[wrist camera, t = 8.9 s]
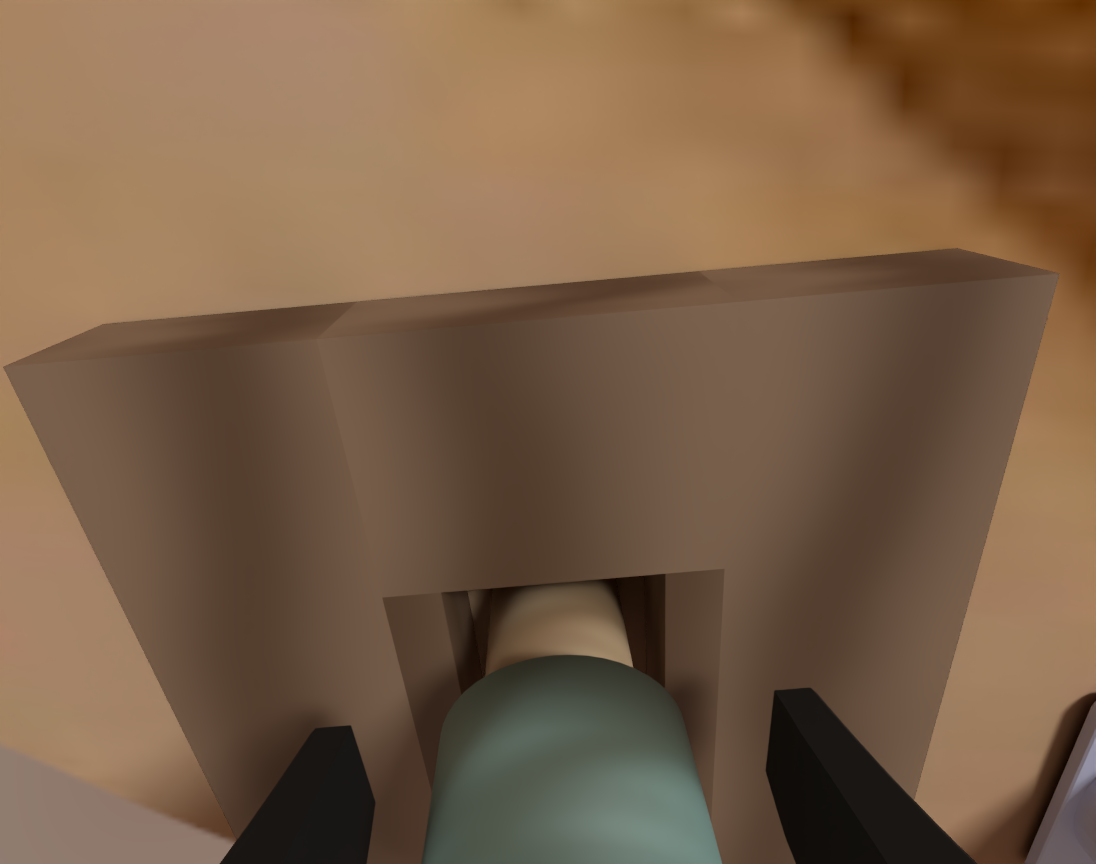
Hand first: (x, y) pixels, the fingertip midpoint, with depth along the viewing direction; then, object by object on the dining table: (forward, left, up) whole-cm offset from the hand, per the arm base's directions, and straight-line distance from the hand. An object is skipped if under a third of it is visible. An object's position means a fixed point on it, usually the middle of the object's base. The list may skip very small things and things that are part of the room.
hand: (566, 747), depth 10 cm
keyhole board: (0, +4, -4) cm, 6 cm away
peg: (0, 0, -4) cm, 4 cm away
